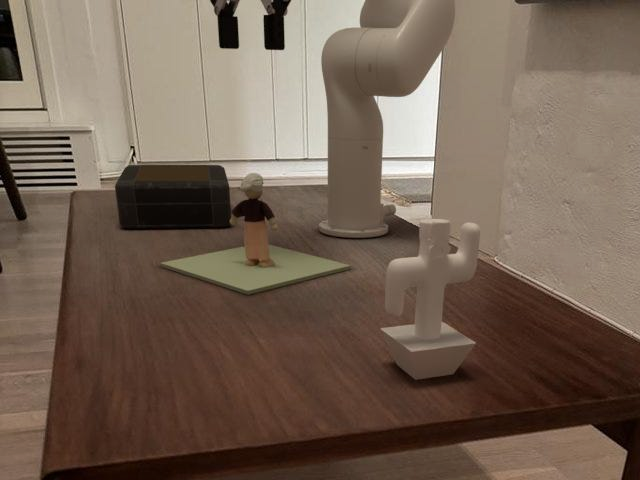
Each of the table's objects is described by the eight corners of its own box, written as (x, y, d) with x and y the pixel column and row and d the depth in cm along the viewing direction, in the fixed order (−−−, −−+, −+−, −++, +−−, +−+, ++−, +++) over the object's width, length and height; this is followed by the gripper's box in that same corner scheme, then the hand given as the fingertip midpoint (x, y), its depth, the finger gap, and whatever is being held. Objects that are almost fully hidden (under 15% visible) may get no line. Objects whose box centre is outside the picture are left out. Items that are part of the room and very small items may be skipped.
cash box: (126, 204, 151) (121, 164, 147) (226, 203, 155) (224, 164, 151) (116, 230, 130) (109, 183, 126) (232, 228, 134) (229, 183, 130)
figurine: (369, 363, 78) (373, 214, 70) (447, 352, 81) (460, 209, 73) (398, 388, 72) (407, 229, 64) (482, 376, 75) (499, 223, 68)
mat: (262, 246, 122) (262, 242, 122) (350, 269, 111) (350, 265, 111) (160, 266, 109) (160, 262, 109) (248, 295, 98) (247, 290, 98)
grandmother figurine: (284, 262, 111) (282, 172, 105) (277, 269, 108) (274, 176, 101) (235, 259, 112) (230, 169, 106) (227, 265, 109) (221, 173, 102)
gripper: (180, -103, 97) (192, 47, 106) (267, -118, 87) (272, 50, 96) (225, -95, 102) (233, 48, 111) (312, -108, 92) (313, 51, 101)
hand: (251, 49), depth 103 cm, fingers open, 9 cm apart
